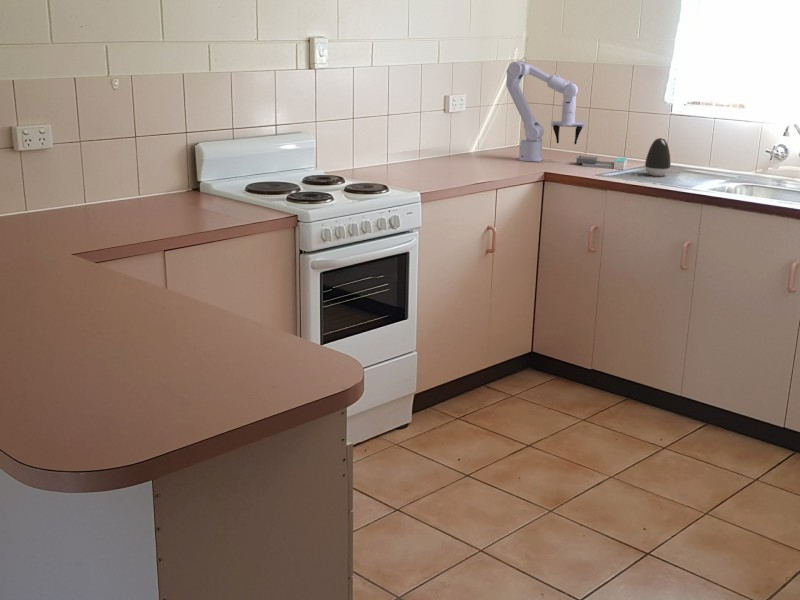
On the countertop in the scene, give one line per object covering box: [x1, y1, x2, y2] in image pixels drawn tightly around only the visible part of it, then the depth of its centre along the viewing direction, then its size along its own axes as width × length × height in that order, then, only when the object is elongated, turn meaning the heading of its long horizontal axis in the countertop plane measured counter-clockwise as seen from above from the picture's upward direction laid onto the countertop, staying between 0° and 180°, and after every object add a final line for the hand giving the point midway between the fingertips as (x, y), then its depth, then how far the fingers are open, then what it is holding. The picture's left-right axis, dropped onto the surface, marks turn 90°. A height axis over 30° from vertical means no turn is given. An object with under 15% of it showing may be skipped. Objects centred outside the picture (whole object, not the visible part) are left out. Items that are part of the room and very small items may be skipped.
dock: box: [581, 157, 628, 170], centre depth 404 cm, size 18×12×3 cm
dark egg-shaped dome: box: [644, 137, 672, 177], centre depth 383 cm, size 10×10×15 cm
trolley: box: [575, 152, 598, 166], centre depth 406 cm, size 8×7×4 cm
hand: (566, 143), depth 408 cm, fingers open, 7 cm apart
